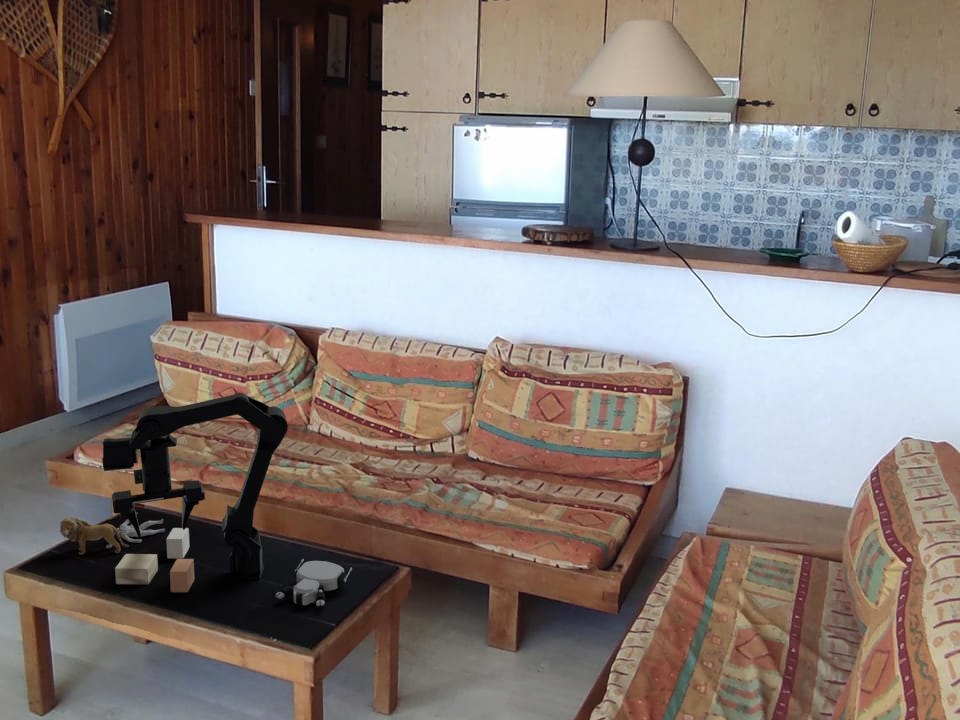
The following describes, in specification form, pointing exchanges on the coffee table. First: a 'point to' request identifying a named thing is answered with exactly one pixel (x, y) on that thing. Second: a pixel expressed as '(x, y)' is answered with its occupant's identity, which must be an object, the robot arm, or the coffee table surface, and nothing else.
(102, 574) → the coffee table surface
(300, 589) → the robot toy
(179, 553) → the off-white brick
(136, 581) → the birch block
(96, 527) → the lion figurine
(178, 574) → the terracotta brick
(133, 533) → the soldier figure
